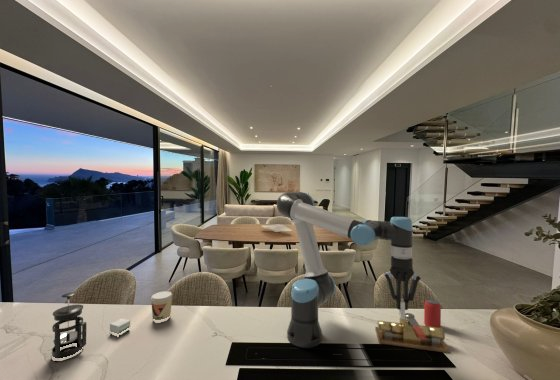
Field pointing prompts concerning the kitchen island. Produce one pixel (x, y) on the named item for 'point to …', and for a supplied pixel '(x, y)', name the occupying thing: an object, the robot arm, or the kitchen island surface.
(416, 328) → the lever
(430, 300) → the beer can
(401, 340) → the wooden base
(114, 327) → the small box
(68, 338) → the french press
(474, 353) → the kitchen island surface
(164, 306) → the coffee cup
